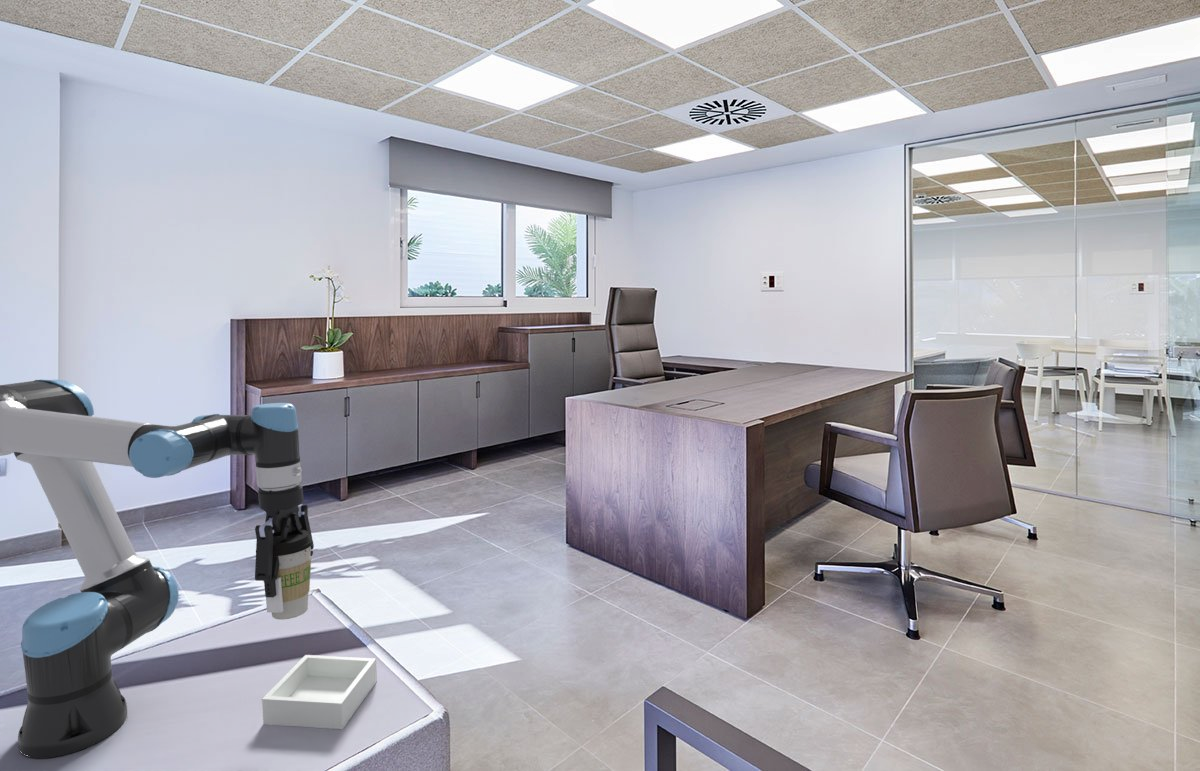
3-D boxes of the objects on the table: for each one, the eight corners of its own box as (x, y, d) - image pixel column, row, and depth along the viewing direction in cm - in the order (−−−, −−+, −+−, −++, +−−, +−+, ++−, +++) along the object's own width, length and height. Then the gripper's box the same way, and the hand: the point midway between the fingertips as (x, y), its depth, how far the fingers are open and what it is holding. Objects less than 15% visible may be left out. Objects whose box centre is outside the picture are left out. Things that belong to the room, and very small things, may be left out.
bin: (263, 724, 117) (262, 698, 116) (306, 677, 132) (305, 654, 131) (342, 729, 116) (341, 703, 115) (376, 681, 131) (376, 658, 130)
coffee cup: (295, 626, 117) (289, 547, 115) (249, 622, 119) (242, 544, 117) (328, 602, 126) (323, 529, 125) (284, 598, 128) (279, 526, 127)
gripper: (265, 502, 109) (276, 628, 111) (327, 471, 130) (334, 577, 133) (224, 502, 109) (235, 627, 112) (292, 471, 131) (300, 576, 133)
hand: (289, 600), depth 122 cm, fingers closed on coffee cup, 9 cm apart
